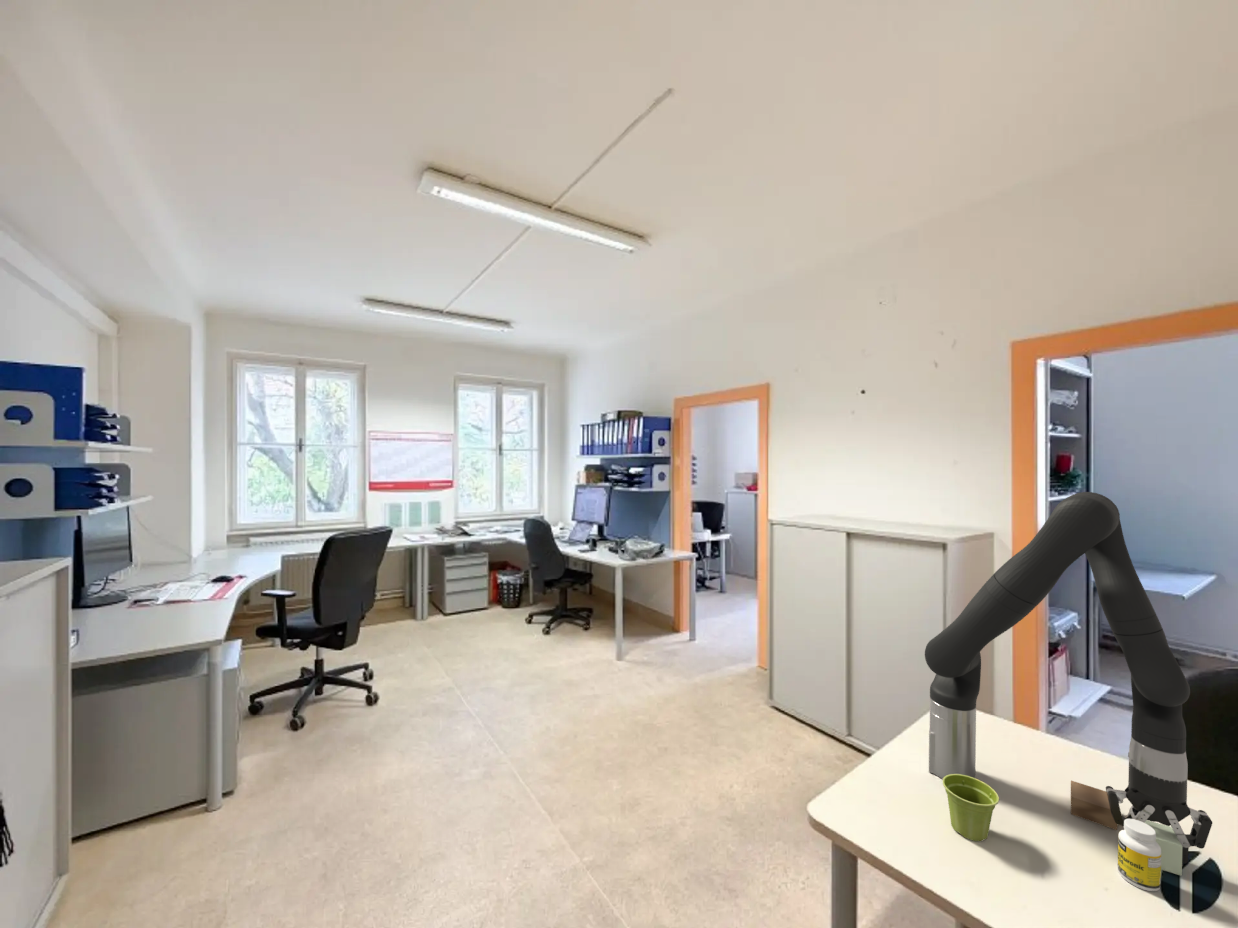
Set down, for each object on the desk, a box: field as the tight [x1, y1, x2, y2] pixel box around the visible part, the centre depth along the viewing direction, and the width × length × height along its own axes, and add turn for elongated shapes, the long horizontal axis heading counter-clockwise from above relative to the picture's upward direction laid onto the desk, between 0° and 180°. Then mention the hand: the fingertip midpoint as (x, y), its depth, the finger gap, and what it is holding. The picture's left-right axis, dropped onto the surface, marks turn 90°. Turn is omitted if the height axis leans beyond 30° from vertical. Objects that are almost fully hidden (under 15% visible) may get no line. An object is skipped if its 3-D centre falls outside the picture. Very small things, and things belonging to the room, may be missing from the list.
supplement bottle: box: [1117, 819, 1162, 892], centre depth 91 cm, size 5×5×10 cm
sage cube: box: [1145, 820, 1183, 877], centre depth 96 cm, size 6×6×6 cm
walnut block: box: [1070, 780, 1118, 831], centre depth 108 cm, size 7×7×4 cm
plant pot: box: [942, 774, 1000, 842], centre depth 103 cm, size 9×9×9 cm
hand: (1155, 854), depth 96 cm, fingers closed on sage cube, 5 cm apart
